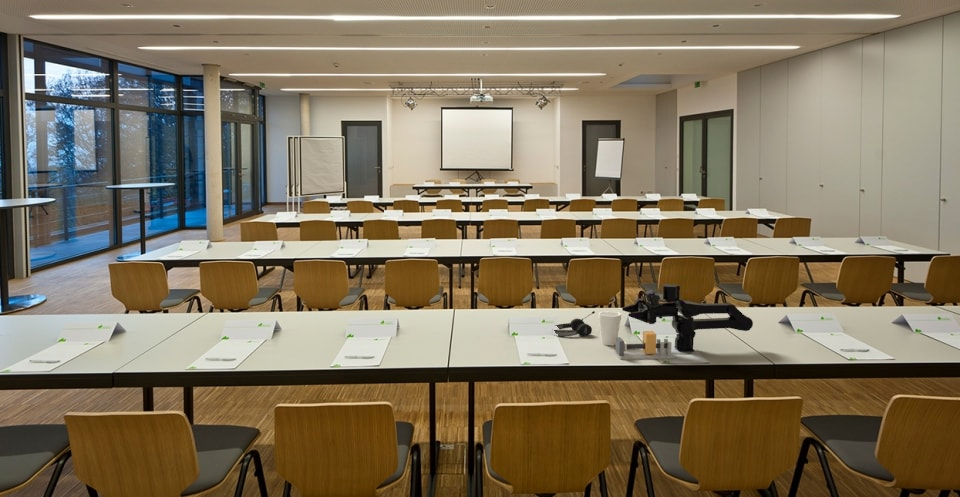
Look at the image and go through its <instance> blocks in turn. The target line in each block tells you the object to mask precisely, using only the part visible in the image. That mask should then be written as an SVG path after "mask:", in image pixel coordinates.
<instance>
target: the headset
mask: <svg viewBox="0 0 960 497" xmlns="http://www.w3.org/2000/svg"><path fill="white" fill-rule="evenodd" d="M595 313H596V311H595V310H593V311H592V312H591V313H590V314H588V315H587V316H586V317H584V318H581V319H580V318H574V319H572V320H571V321H570V322H568V323H567V322H566V323H559V324H556V325H555V326H557V327H558V328H559V329H560V330H554V331H555V333H556V334H558V336H557V337H560V338H561V337H562V338H564V337H566V338H567V337H573V336H576V335H579V336H581V337H588V336H590V335H591V334H592V330H593V327H592V326H591V325H590V324H588V323H585V322H584V319H586V318H588V317H589V316H590V315H592V314H595ZM569 328H570V329H571V330H563V329H569ZM562 330H563V331H562Z"/></svg>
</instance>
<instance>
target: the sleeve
mask: <svg viewBox="0 0 960 497" xmlns="http://www.w3.org/2000/svg"><path fill="white" fill-rule="evenodd" d="M656 343H657V333H656V332H655V331H653V330H643V331H642V344H645V349H641V350H642V351H643V352H644V353H645V354H656Z"/></svg>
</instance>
